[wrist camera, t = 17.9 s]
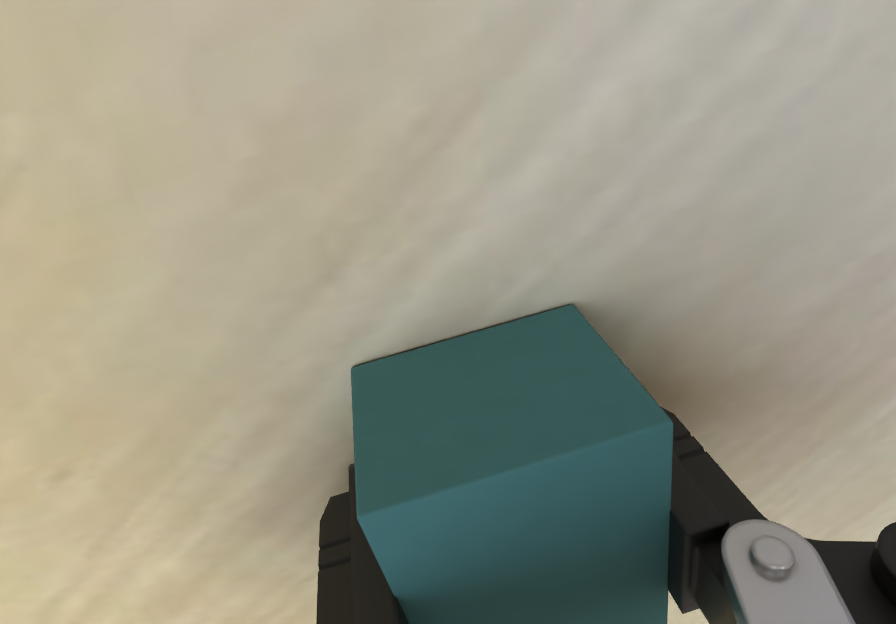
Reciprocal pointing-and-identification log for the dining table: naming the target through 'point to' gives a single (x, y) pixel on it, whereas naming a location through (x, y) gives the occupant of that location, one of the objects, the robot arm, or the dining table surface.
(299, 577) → the dining table surface
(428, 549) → the teal rectangular block
